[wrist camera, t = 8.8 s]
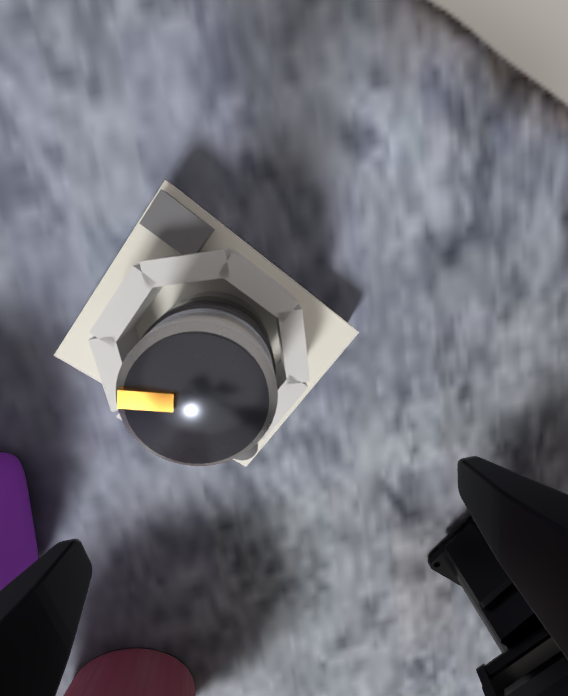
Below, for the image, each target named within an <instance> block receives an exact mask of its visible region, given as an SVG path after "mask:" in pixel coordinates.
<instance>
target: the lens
mask: <svg viewBox="0 0 568 696" xmlns="http://www.w3.org/2000/svg"><path fill="white" fill-rule="evenodd" d="M116 402H117V409H118V411H119V414H120V416H121V419H122V421H123V423H124V425H125V426H126V428H127V430H128V431H129V432H130V434H131V435H132V436H133V437H134V438H135V439H136V440H137V441H138V442H139V444H141V445H142V446H143V447H144V448H146V449H147V450H148V451H150V452H152V453H153V454H155V455H157V456H159V457H161V458H163V459H165V460H168V461H171V462H174V463H179V464H183V465H191V466H206V465H215V464H219V463H223V462H226V461H229V460H232V459H234V458H236V457H238V456H240V455H242V454H244V453H245V452H247V451H248V450H250V449H251V448H252V447H253V446H255V445H256V444H257V443H258V442H259V441H260V440H261V439H262V437H263V436H264V435H265V433H266V432H267V431H268V429H269V427H270V425H271V423H272V421H273V418H274V416H275V413H276V408H277V402H278V389H277V382H276V366H275V360H274V355H273V351H272V347H271V342H270V339H269V336H268V333H267V331H266V330H265V327H264V324H263V322H262V320H261V318H260V317H259V315H258V314H257V312H256V311H255V310H254V309H253V308H252V307H251V306H250V305H249V304H248V303H247V302H245V301H244V300H242V299H240V298H238V297H236V296H234V295H231V294H228V293H224V292H216V291H209V292H202V293H197V294H195V295H192V296H190V297H188V298H186V299H184V300H183V301H181V302H180V303H178V304H176V305H175V306H173V307H172V308H170V309H169V310H168V311H167V312H165V313H164V314H163V315H162V316H161V317H160V318H159V319H158V320H157V321H156V322H155V323H154V324H152V325H151V326H150V327H149V328H148V330H147V331H146V332H145V333H144V335H143V336H142V338H141V340H140V341H139V342H138V343H137V344H136V345H135V346H134V347H133V348H132V349H131V351H130V352H129V353H128V354H127V356H126V358H125V359H124V361H123V363H122V365H121V368H120V370H119V373H118V377H117V381H116Z"/></svg>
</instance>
